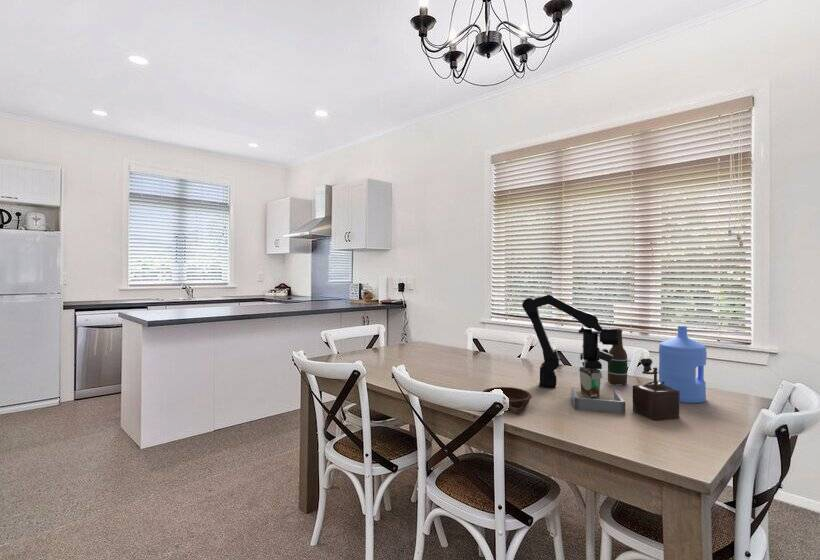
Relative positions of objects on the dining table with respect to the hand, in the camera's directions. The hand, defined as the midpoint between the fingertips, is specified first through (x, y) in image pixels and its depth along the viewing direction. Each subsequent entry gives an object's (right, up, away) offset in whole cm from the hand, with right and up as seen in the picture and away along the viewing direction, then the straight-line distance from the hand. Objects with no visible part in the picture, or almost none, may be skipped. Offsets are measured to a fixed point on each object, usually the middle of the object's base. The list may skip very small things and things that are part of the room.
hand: (590, 380), depth 175 cm
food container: (-2, -4, -8) cm, 9 cm away
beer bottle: (+17, -4, +11) cm, 20 cm away
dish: (-40, -5, -20) cm, 45 cm away
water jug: (+31, -4, -11) cm, 33 cm away
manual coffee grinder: (+9, -5, -28) cm, 30 cm away
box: (-6, -4, -19) cm, 20 cm away
